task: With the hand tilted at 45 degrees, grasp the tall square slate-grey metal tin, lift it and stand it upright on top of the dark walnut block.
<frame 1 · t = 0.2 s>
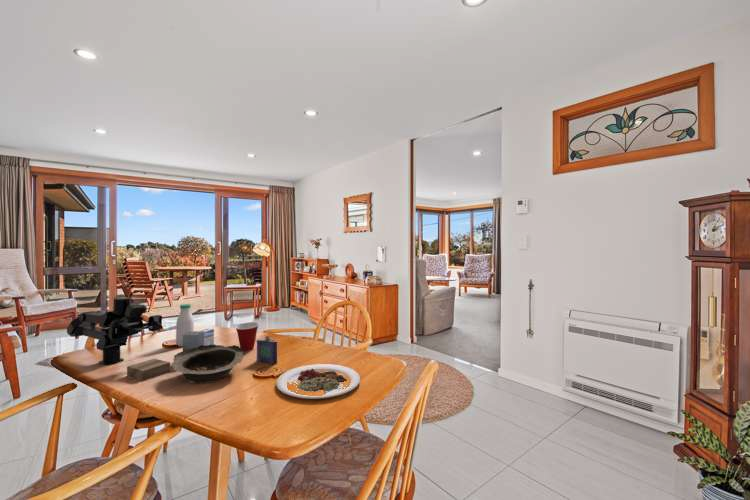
hand: (150, 329, 127), 16 cm above the table, tool horizontal, fingers open, 9 cm apart
walnut block: (148, 374, 125), on the table
slate tin: (193, 361, 140), on the table
stone bowl: (209, 376, 124), on the table
plastic cup: (246, 349, 156), on the table
medicine box: (204, 348, 157), on the table
plated food: (319, 384, 119), on the table
flask: (267, 362, 139), on the table
milk bottle: (185, 344, 163), on the table
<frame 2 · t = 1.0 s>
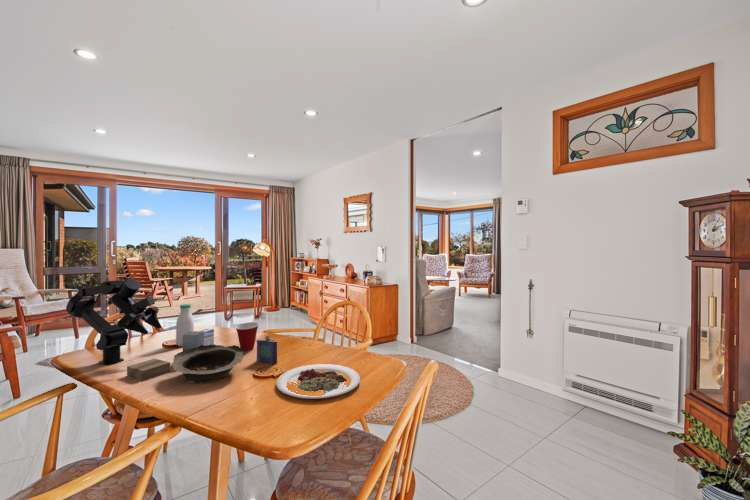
hand: (154, 330, 136), 14 cm above the table, tool tilted 45°, fingers open, 9 cm apart
nothing on the table moved.
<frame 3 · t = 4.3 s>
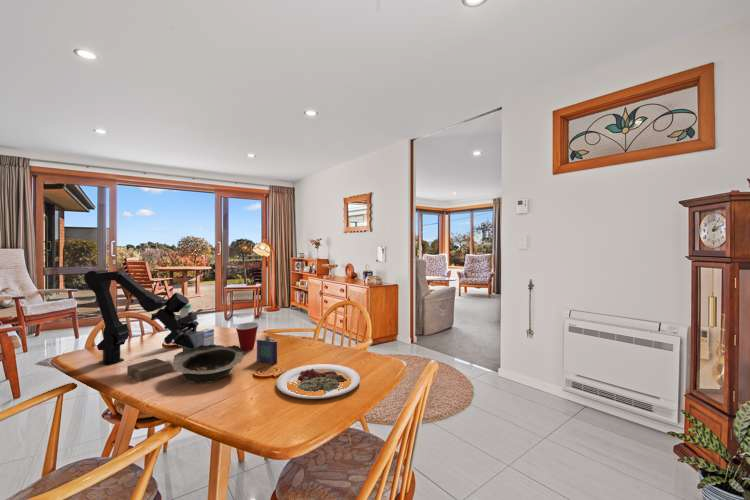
hand: (196, 345, 140), 7 cm above the table, tool tilted 45°, fingers closed on slate tin, 6 cm apart
slate tin: (193, 360, 140), on the table, touching gripper
everything else where it was.
when the fingers open (11 cm above the table, at t = 8.0 s): slate tin drops 1 cm, resting on walnut block.
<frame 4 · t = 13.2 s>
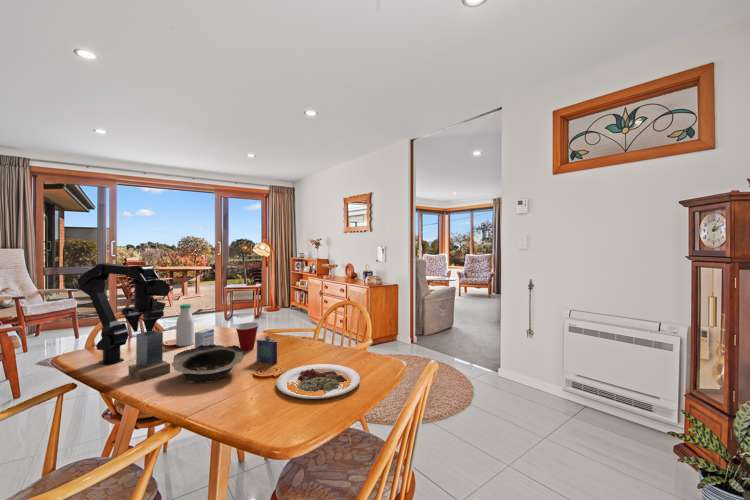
hand: (142, 332, 135), 13 cm above the table, tool pointing down, fingers open, 9 cm apart
walnut block: (149, 375, 125), on the table, touching slate tin
slate tin: (149, 364, 125), point 4 cm above the table, touching walnut block
everything else where it was.
at the end: slate tin inside the target area on the walnut block (0.4 cm from its centre), point 4.1 cm above the walnut block's base; slate tin tilted 1°; slate tin touching walnut block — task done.
